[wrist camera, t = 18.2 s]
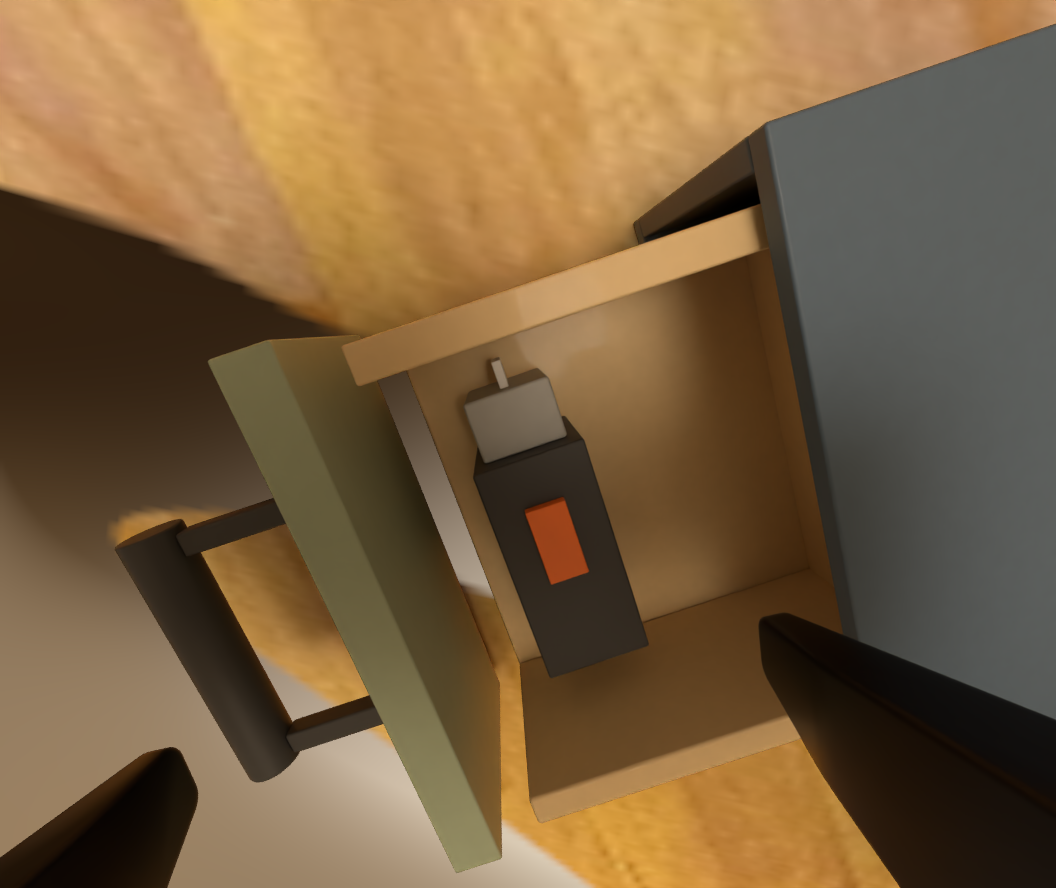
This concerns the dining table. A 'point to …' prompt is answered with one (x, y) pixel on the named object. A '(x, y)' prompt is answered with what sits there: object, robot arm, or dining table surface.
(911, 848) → the robot arm
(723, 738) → the drawer
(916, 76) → the cabinet
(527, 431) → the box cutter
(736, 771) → the dining table surface
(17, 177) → the dining table surface
